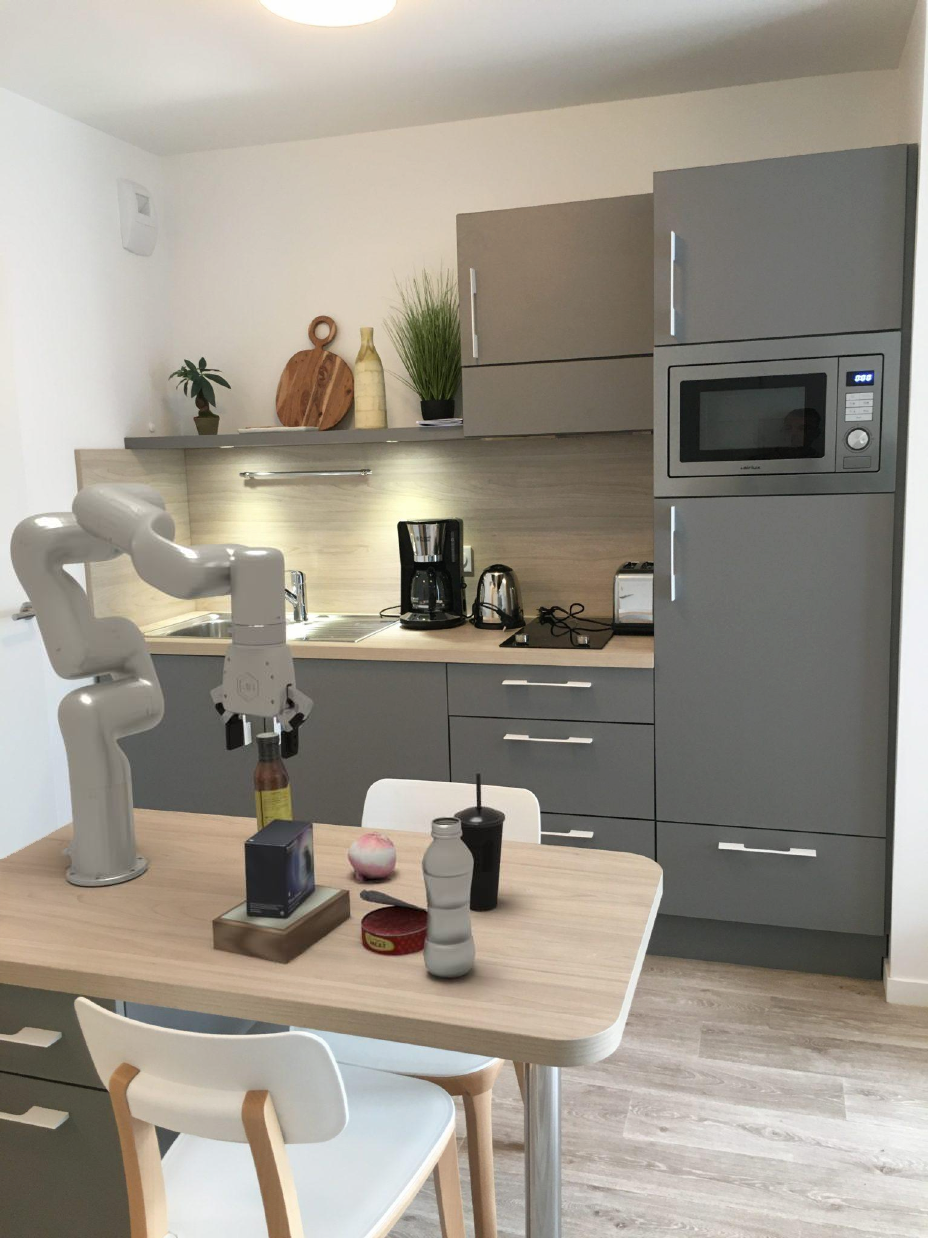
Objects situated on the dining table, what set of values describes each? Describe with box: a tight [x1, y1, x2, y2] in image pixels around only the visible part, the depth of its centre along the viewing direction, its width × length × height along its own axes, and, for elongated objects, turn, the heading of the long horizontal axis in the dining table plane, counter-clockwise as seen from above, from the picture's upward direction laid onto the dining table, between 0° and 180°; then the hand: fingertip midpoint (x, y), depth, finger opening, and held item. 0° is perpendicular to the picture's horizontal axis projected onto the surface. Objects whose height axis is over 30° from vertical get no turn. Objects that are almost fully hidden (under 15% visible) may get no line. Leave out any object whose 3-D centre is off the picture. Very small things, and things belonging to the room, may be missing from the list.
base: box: [211, 884, 352, 964], centre depth 141 cm, size 12×16×4 cm
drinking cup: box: [453, 772, 506, 912], centre depth 148 cm, size 8×8×20 cm
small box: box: [243, 819, 316, 918], centre depth 141 cm, size 11×6×10 cm, turn 167°
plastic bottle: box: [421, 816, 476, 978], centre depth 127 cm, size 6×7×20 cm
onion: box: [347, 831, 397, 884], centre depth 161 cm, size 8×8×7 cm
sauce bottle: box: [253, 731, 294, 832], centre depth 177 cm, size 7×6×20 cm
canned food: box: [359, 889, 427, 957], centre depth 138 cm, size 11×10×10 cm
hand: (262, 752), depth 144 cm, fingers open, 9 cm apart
